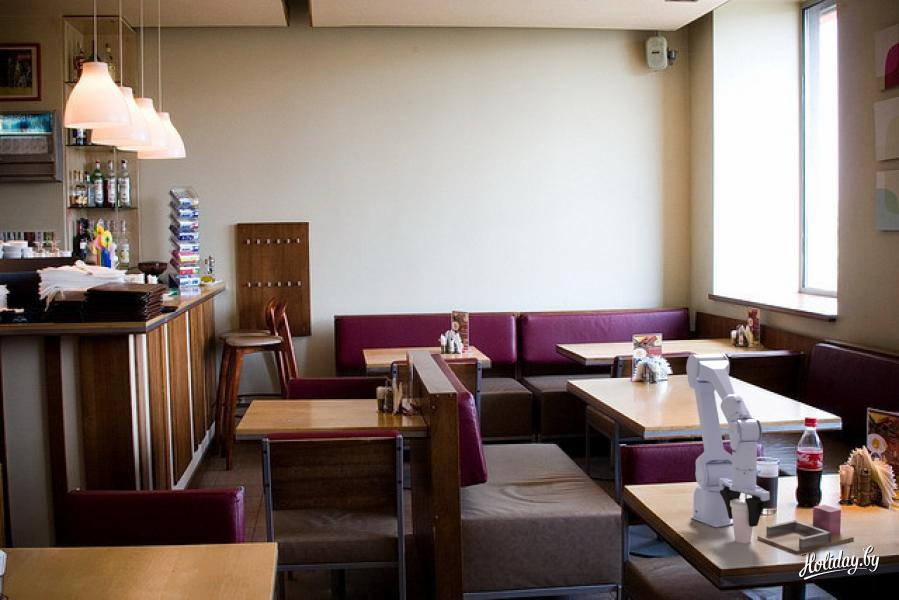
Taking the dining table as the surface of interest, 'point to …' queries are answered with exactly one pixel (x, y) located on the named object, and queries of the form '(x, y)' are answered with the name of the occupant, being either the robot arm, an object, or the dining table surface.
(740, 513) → the smoothie
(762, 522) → the dining table surface
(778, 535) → the open-sided grey tray
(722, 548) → the dining table surface
